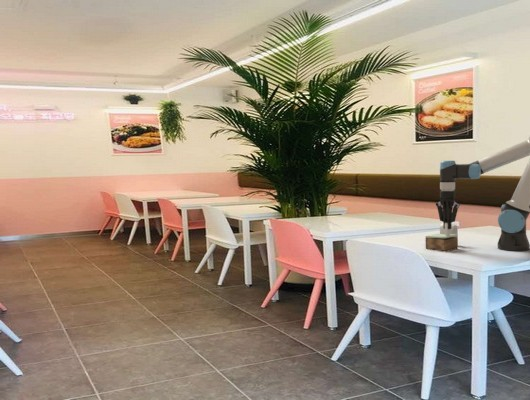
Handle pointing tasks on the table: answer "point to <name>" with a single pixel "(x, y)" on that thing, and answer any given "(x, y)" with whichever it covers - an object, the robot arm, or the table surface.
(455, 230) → the photo printer
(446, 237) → the lid
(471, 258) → the table surface
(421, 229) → the table surface
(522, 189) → the robot arm
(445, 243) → the box carcass
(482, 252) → the table surface
